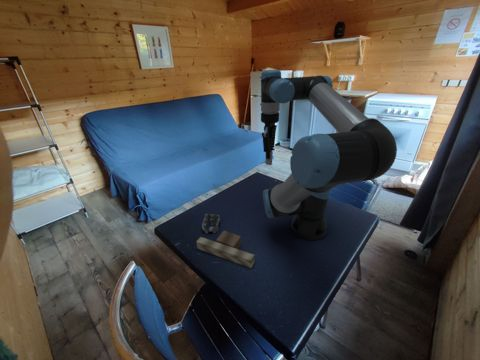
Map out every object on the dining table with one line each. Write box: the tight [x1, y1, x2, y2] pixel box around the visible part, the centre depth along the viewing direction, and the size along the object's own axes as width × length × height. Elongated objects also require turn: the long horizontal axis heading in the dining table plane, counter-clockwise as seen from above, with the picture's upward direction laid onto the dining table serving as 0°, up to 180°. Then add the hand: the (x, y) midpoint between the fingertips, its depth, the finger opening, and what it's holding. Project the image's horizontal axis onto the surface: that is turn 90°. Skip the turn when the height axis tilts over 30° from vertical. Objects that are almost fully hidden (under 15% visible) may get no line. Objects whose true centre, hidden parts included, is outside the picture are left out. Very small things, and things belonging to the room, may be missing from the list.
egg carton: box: [201, 213, 221, 234], centre depth 104 cm, size 11×8×4 cm
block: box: [215, 230, 242, 250], centre depth 92 cm, size 8×6×5 cm
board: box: [195, 236, 255, 269], centre depth 88 cm, size 24×3×4 cm, turn 64°
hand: (268, 164), depth 104 cm, fingers closed
